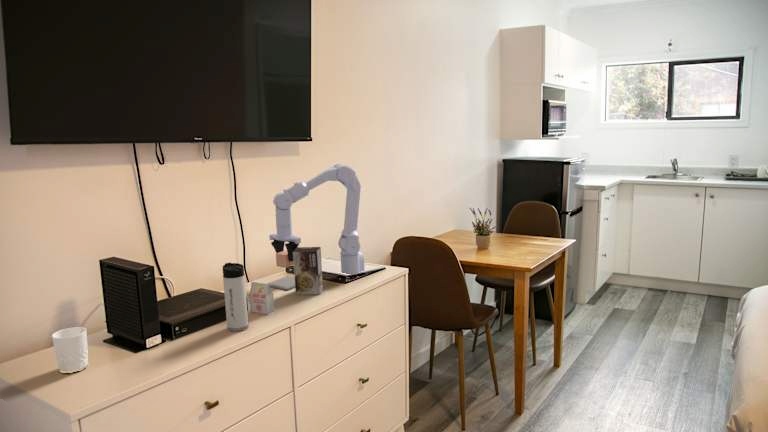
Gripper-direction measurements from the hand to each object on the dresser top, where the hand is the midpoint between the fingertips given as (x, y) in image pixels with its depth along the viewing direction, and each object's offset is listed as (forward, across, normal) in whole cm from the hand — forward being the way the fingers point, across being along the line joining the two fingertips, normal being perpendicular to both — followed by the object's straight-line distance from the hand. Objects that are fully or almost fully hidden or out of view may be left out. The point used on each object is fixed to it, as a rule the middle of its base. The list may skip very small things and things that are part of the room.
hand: (286, 260), depth 217 cm
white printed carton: (+10, +15, -27) cm, 32 cm away
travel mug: (+10, +19, -41) cm, 46 cm away
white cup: (+10, +4, -83) cm, 84 cm away
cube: (+2, 0, 0) cm, 2 cm away
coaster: (+9, 0, 0) cm, 9 cm away
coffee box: (+10, +14, -3) cm, 17 cm away
